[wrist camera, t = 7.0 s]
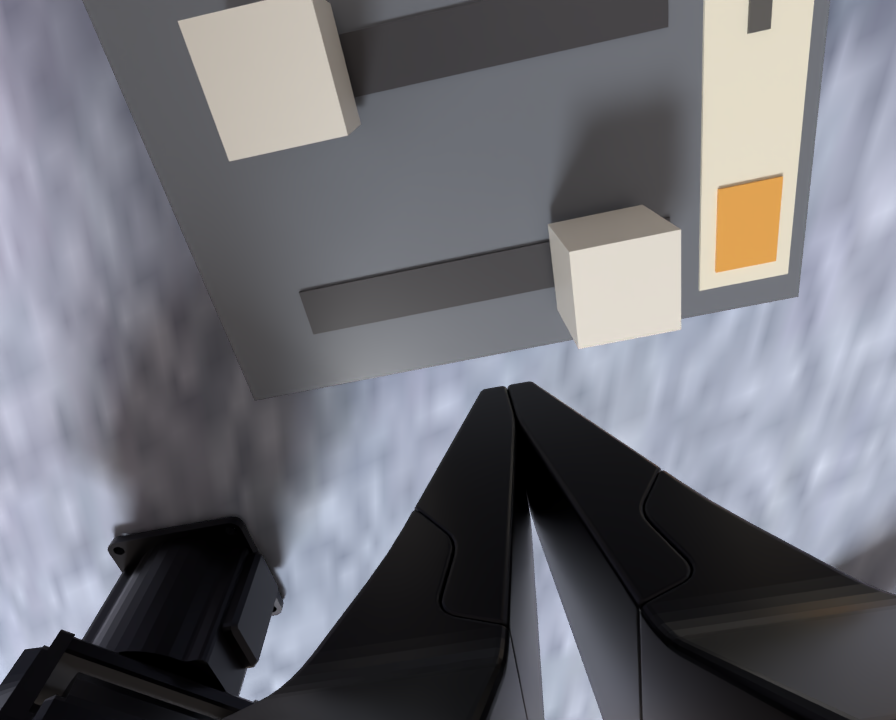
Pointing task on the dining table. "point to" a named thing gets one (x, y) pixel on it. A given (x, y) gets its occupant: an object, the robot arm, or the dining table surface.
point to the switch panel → (482, 169)
